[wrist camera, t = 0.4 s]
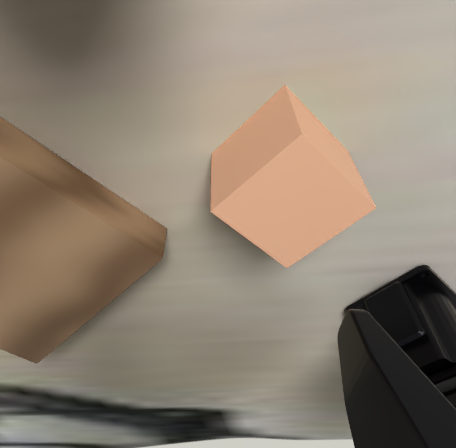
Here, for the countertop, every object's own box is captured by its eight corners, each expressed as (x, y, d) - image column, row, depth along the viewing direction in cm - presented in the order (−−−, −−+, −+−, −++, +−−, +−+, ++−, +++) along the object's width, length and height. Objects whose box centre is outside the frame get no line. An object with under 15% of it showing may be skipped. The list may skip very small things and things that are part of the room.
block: (347, 150, 21) (376, 208, 17) (275, 205, 23) (287, 268, 20) (284, 84, 19) (302, 133, 15) (211, 152, 21) (210, 211, 17)
